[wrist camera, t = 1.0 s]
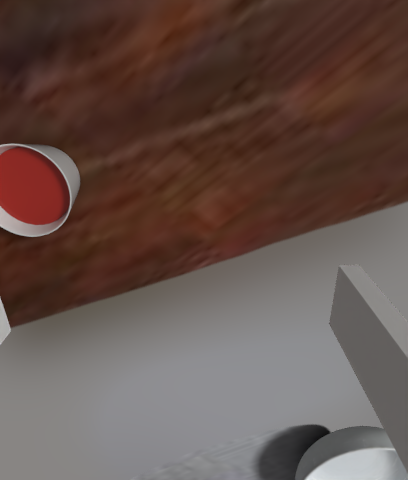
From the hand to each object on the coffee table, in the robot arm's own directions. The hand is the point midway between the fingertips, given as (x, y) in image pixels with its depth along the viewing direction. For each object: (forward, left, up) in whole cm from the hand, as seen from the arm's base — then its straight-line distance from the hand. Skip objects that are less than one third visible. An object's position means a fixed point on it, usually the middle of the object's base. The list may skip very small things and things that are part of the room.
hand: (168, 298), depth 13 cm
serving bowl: (+53, +12, -27) cm, 61 cm away
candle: (-3, -15, -27) cm, 31 cm away
